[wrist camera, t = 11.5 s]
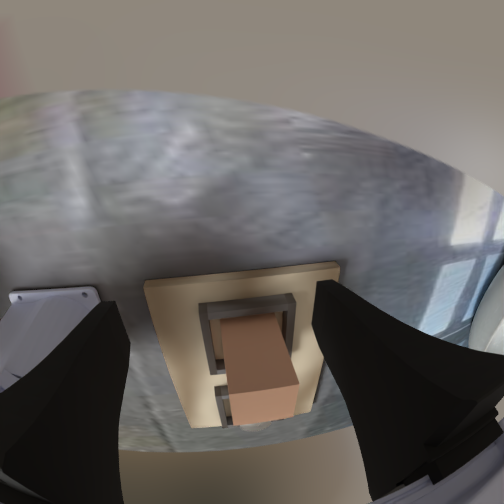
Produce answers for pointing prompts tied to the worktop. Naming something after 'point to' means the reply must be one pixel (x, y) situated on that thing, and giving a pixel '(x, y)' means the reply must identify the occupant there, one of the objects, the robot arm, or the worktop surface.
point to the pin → (255, 426)
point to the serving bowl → (490, 319)
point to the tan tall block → (258, 369)
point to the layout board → (209, 331)
